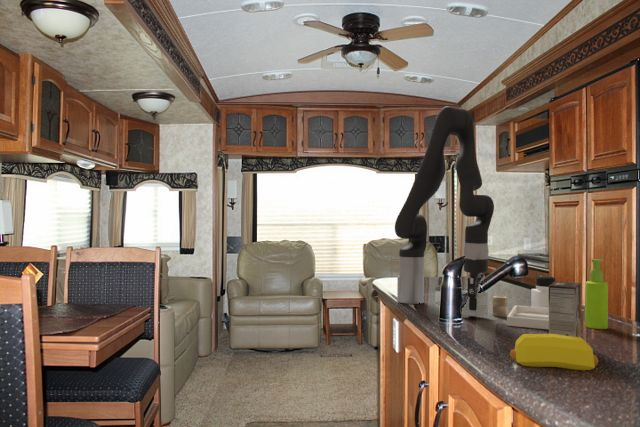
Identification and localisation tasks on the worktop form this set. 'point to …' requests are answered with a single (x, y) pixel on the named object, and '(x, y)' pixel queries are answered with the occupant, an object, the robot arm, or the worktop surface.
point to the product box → (481, 305)
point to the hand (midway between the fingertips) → (475, 307)
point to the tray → (529, 317)
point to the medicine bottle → (541, 292)
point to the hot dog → (554, 352)
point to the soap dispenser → (596, 298)
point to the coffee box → (565, 309)
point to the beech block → (500, 306)
